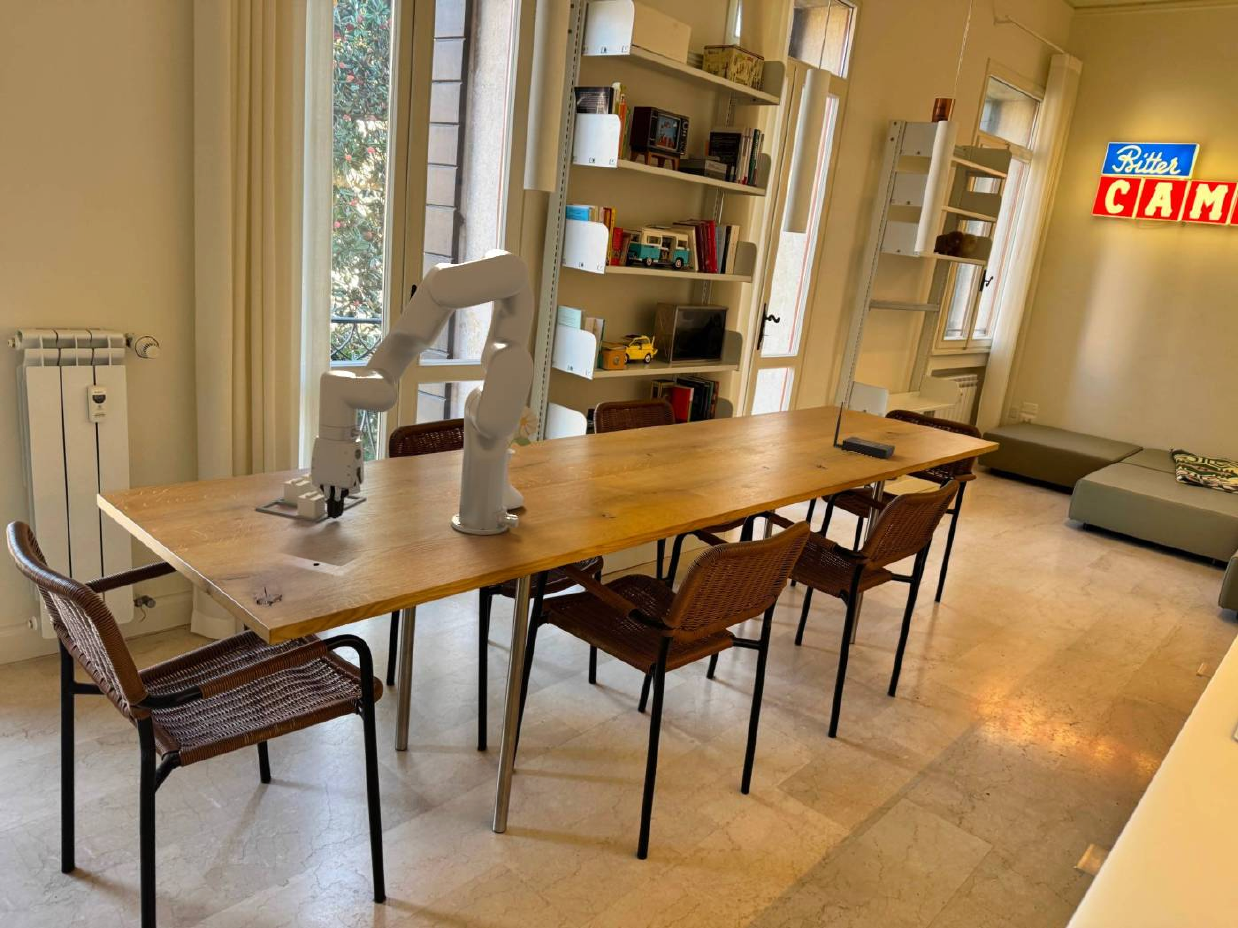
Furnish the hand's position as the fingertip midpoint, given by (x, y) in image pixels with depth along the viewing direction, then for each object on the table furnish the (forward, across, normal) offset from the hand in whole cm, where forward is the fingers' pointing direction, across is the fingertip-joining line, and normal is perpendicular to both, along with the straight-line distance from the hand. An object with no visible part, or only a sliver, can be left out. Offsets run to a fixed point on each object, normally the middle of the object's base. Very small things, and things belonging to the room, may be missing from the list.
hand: (335, 516), depth 183 cm
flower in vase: (+3, -24, -33) cm, 41 cm away
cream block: (+1, +6, 0) cm, 6 cm away
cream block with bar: (+1, +14, -13) cm, 19 cm away
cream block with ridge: (+1, +14, -7) cm, 15 cm away
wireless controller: (+2, -109, -166) cm, 199 cm away
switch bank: (+2, +12, -7) cm, 14 cm away
